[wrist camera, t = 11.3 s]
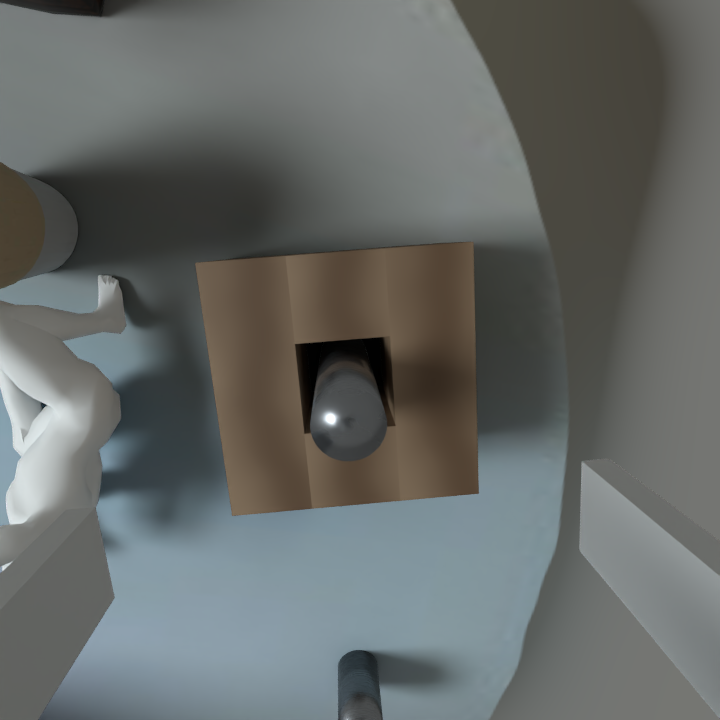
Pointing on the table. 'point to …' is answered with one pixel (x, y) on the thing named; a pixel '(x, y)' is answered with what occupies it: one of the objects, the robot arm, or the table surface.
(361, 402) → the long pin
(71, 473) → the person figurine
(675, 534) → the robot arm
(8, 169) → the coffee cup
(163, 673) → the table surface
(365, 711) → the short pin
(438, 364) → the pin block
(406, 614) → the table surface
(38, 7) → the manual coffee grinder
